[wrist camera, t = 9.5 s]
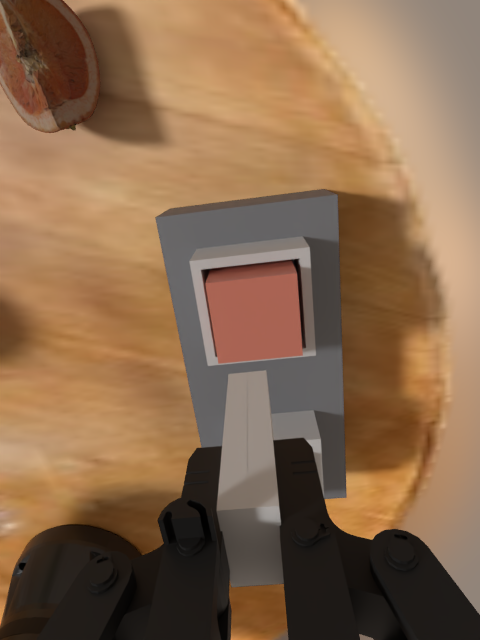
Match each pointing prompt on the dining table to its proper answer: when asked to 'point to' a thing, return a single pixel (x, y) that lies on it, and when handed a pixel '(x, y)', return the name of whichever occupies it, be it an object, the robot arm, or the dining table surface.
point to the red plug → (255, 311)
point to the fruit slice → (47, 64)
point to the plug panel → (314, 303)
